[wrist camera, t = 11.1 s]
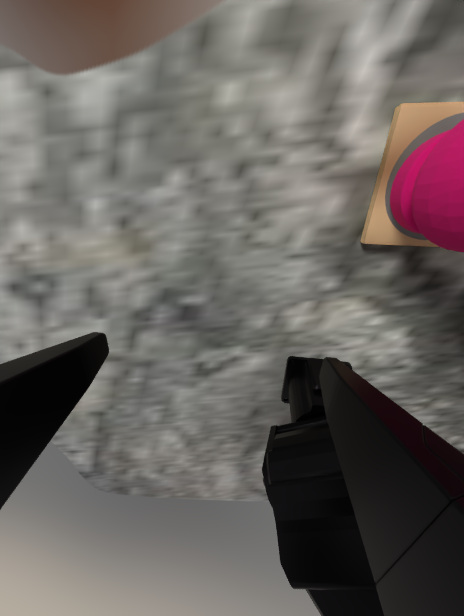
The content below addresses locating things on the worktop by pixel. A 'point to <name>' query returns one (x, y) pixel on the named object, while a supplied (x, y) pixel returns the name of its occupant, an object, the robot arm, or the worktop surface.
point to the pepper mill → (433, 190)
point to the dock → (400, 144)
